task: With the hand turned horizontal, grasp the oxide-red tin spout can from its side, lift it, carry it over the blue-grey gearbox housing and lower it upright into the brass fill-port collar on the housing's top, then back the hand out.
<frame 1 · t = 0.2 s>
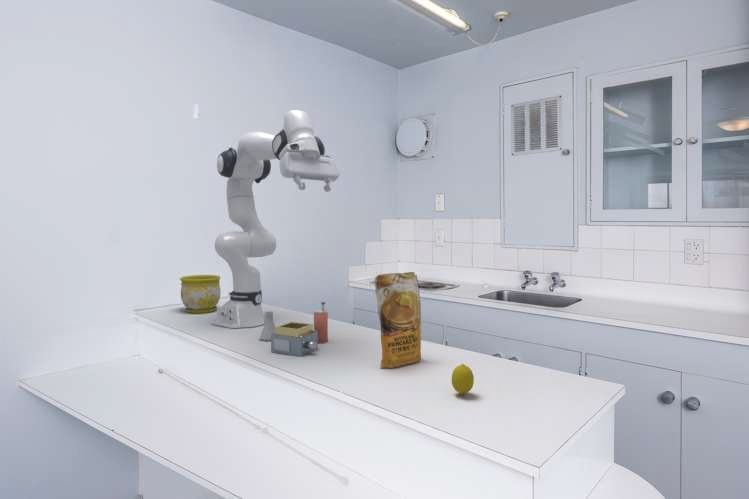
hand: (315, 189, 150), 54 cm above the counter, tool tilted 25°, fingers open, 8 cm apart
gearbox housing: (294, 350, 159), on the counter
spout can: (320, 341, 171), on the counter
lemon: (462, 395, 119), on the counter
flask: (269, 339, 174), on the counter
pancake mix bag: (399, 363, 146), on the counter
flowerpot: (201, 311, 225), on the counter
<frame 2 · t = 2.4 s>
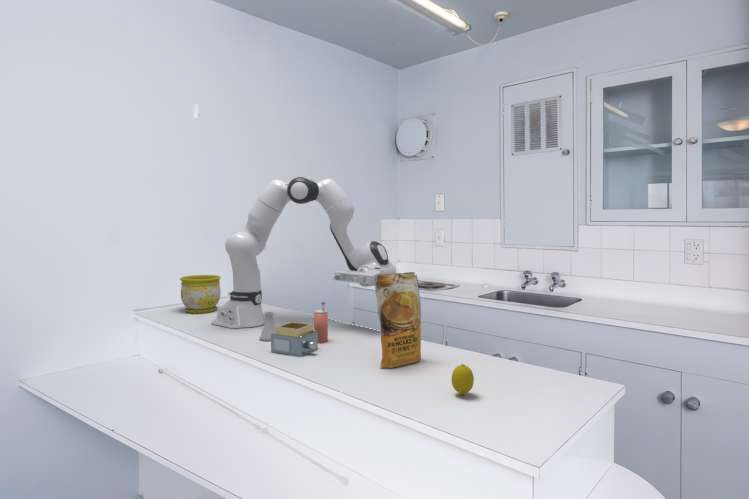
hand: (343, 278, 179), 22 cm above the counter, tool horizontal, fingers open, 8 cm apart
nothing on the counter moved.
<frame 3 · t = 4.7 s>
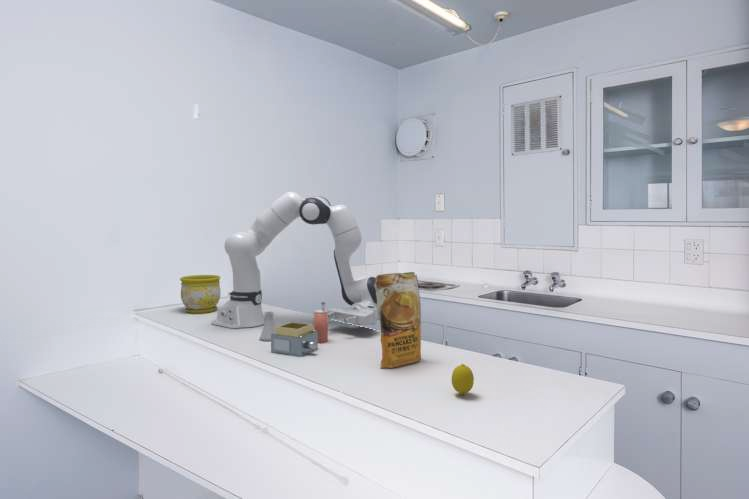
hand: (336, 318, 177), 7 cm above the counter, tool horizontal, fingers open, 8 cm apart
nothing on the counter moved.
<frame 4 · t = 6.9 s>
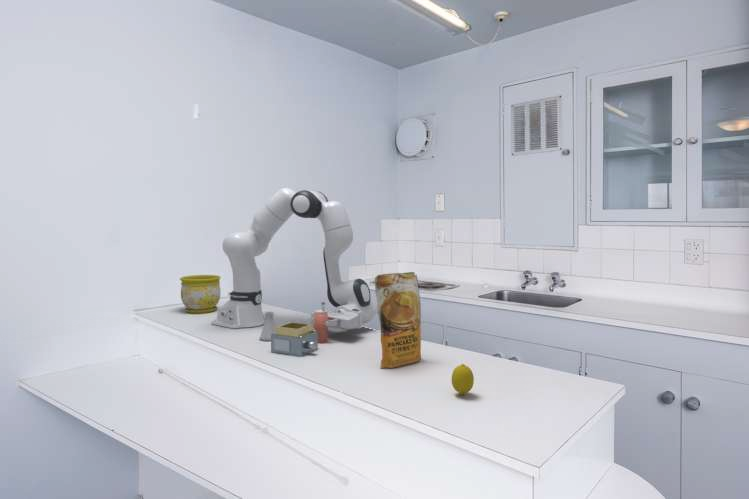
hand: (319, 322, 169), 7 cm above the counter, tool horizontal, fingers closed on spout can, 5 cm apart
spout can: (320, 341, 171), on the counter, touching gripper
everything else where it was.
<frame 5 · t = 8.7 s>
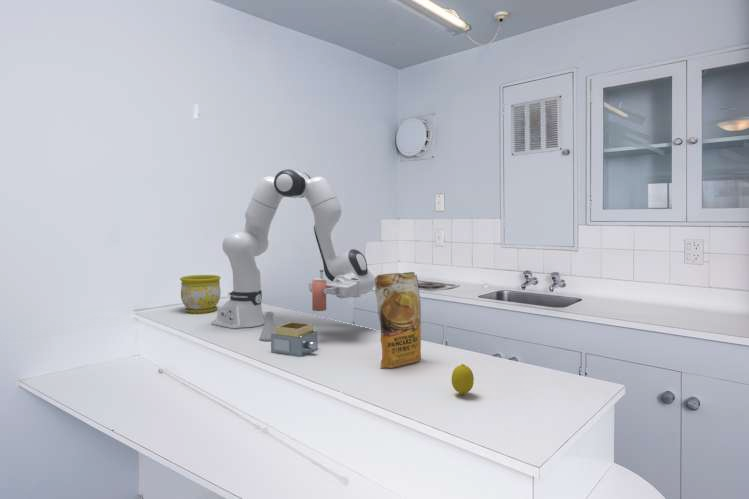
hand: (317, 290, 168), 19 cm above the counter, tool horizontal, fingers closed on spout can, 5 cm apart
spout can: (319, 309, 169), point 12 cm above the counter, touching gripper
everything else where it was.
when the fingers open (14 cm above the counter, at t = 10.9 s): spout can drops 1 cm, resting on gearbox housing.
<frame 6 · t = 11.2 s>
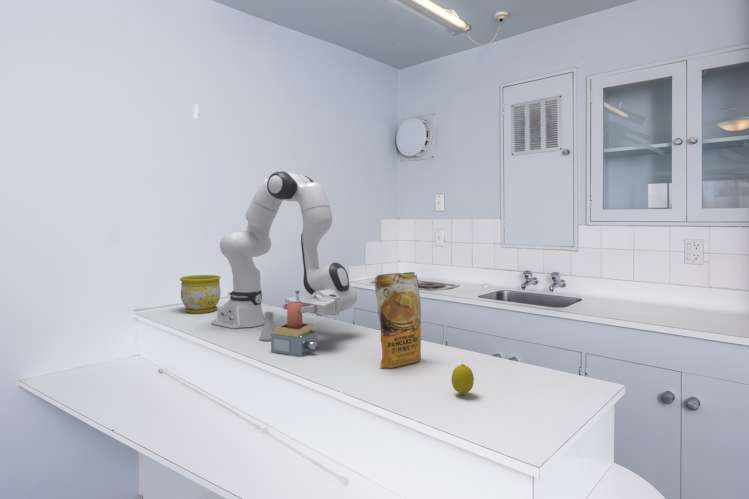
hand: (292, 308, 157), 14 cm above the counter, tool horizontal, fingers open, 7 cm apart
spout can: (294, 332, 158), point 6 cm above the counter, touching gearbox housing
everything else where it was.
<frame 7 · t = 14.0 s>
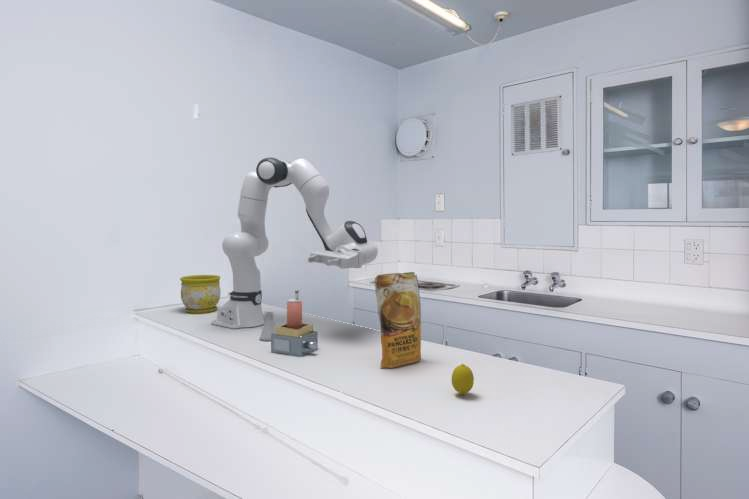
hand: (317, 261, 167), 29 cm above the counter, tool horizontal, fingers open, 8 cm apart
nothing on the counter moved.
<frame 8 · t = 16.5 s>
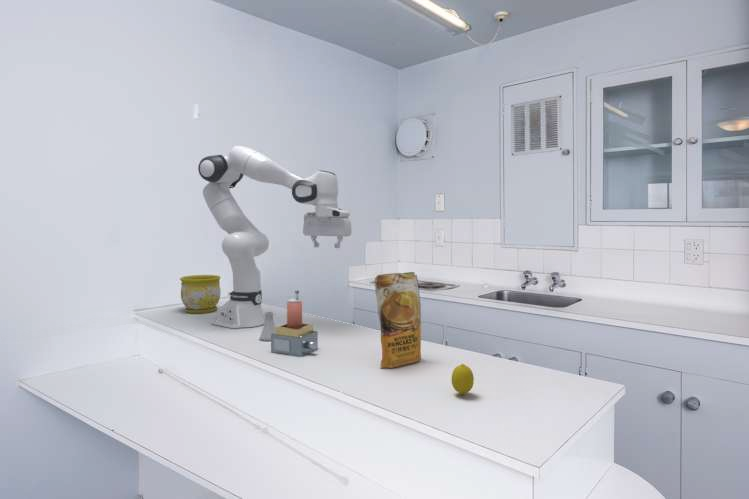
hand: (326, 247, 185), 33 cm above the counter, tool pointing down, fingers open, 8 cm apart
nothing on the counter moved.
at the end: spout can 0.0 cm off-centre on the gearbox housing, point 6.0 cm above the gearbox housing's base; spout can tilted 0°; the gripper is holding nothing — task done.
